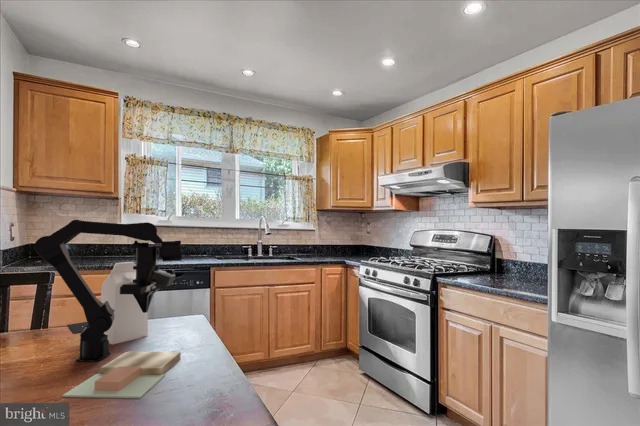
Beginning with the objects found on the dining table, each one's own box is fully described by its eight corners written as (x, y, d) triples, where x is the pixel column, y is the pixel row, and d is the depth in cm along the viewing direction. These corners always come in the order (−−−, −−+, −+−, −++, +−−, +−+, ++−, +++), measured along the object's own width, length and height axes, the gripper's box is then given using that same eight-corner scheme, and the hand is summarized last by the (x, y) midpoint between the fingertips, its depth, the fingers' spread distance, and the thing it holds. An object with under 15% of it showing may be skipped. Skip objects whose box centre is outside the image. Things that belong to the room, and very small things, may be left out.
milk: (131, 330, 134) (133, 260, 135) (147, 335, 127) (149, 262, 128) (96, 337, 124) (99, 262, 125) (112, 344, 117) (114, 265, 118)
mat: (62, 396, 81) (62, 395, 81) (96, 375, 93) (96, 373, 93) (140, 398, 81) (140, 396, 81) (164, 376, 92) (164, 375, 92)
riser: (100, 375, 93) (100, 367, 93) (126, 358, 105) (126, 351, 105) (161, 376, 93) (161, 368, 93) (180, 359, 105) (180, 352, 105)
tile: (94, 390, 84) (94, 381, 84) (118, 374, 93) (118, 366, 93) (118, 390, 83) (119, 382, 83) (140, 375, 92) (140, 367, 92)
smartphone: (65, 326, 139) (73, 335, 128) (65, 324, 139) (73, 332, 128) (87, 323, 144) (97, 331, 133) (87, 321, 144) (97, 328, 133)
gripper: (157, 265, 102) (156, 320, 102) (183, 259, 121) (182, 306, 121) (119, 265, 103) (117, 320, 102) (151, 259, 121) (150, 305, 121)
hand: (145, 312), depth 111 cm, fingers closed
